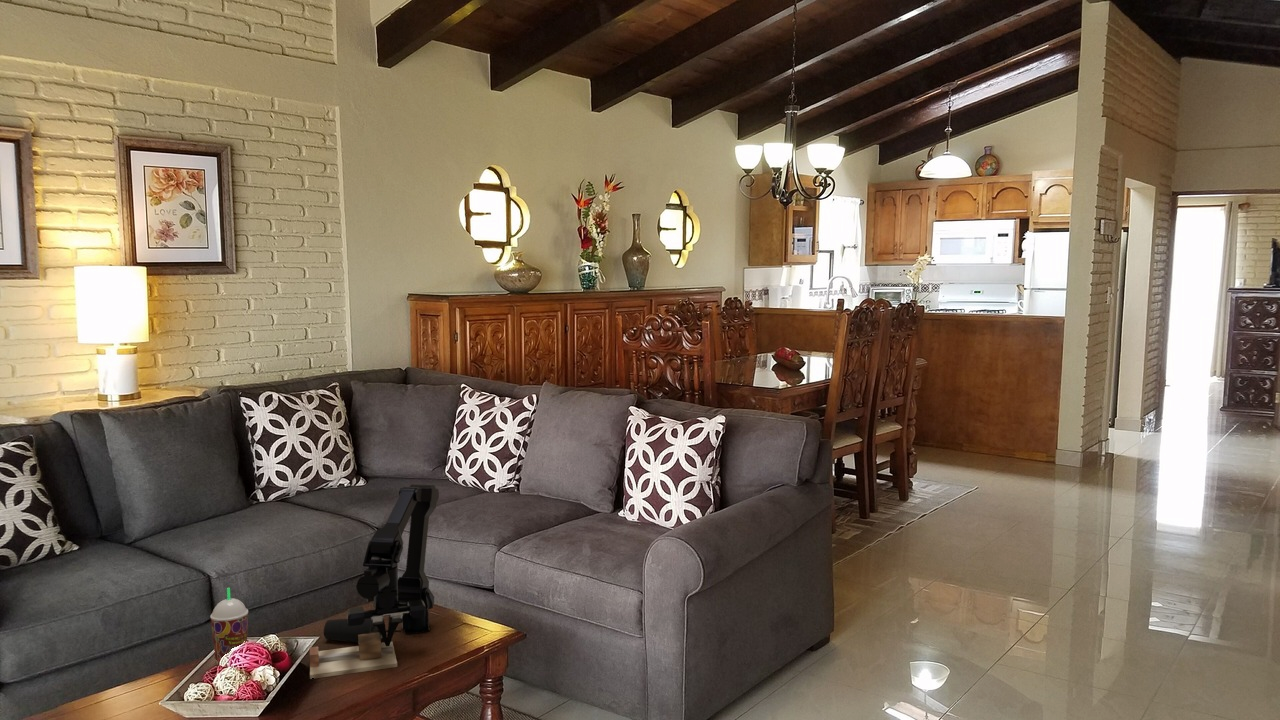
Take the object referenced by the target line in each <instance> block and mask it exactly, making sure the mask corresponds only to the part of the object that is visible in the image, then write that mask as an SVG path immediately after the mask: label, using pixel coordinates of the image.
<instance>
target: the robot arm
mask: <svg viewBox="0 0 1280 720" xmlns="http://www.w3.org/2000/svg"><path fill="white" fill-rule="evenodd" d="M439 497H440V492H439V489H438V488H436V486H435V484H426V483H423V484H422V483H412V484H410V485H409V486H403V487H400V488H399V491H398V497H397V499H396V501H395V503H394V505H393V507H392V509H391V512H390V514H389V515H388V518H387V519H386V522H385V524H384V525H383V526H381V527H379V528H378V529H377V530H376V531H375V532H374V533H373V534H372V537H371V538H370V540H369V541H368V545H367V548H366V553H365V556H364V559H363V564H362V567H365V568H366V567H367V568H366V569H364V571H363V575H362V576H360V577H359V579H357V582H356V586H355V587H356V591H357V593H358V595H360V597H362V598H363V599H366V602H367V603H370V602H371V603H372V602H373V608H374V609H370V610H365V608H364V606H357V607H349V608H348V609H347V610H346V619H347V621H348V626H356V625H362V624H363V623H364V622H365V619H368V618H371V621H372V626H377V628H378V629H379V631H380V633H381V635H382V640H383V643H385V645H386V647H387V646H389V645H390V642H392V639H393V637H394V635H395V633H396V632H395V630H397V628H398V626H399V624H401V628H402V629H401V630H403V631H404V635H411V634H419V633H420V634H421V633H425V632H426V633H427V632H430V630H431V629H430V625H429V624H430V623H429V610H431V609H433V608H434V604H435V596H434V594H433V592H432V591H431V589H430V581H429V579H428V577H427V574H426V573H425V563H426V553H427V543H428V532H429V531H428V530H429V520H430V516H431V515H432V514H433V513H434V511H435V509H436V508H437V503H438V500H439ZM409 520H410V523H409V524H410V525H409V526H410V527H409V534H408V535H409V536H408V544H407V545H408V546H407V554H406V555H407V556H406V565H405V571H404V573H403V574H402V575H401V576H399V575H398V574H399V571H398V566H399V565H398V564H399V563H400V562H401V560H400V559H401V555H402V553H403V549H404V540H403V534H404V531H405V528H406V526H407V524H408V522H409ZM372 558H373V559H372ZM398 576H399V577H398ZM385 617H388V624H387V625H388V626H387V628H386V623H385V619H384V618H385ZM386 630H388V632H386Z"/></svg>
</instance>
